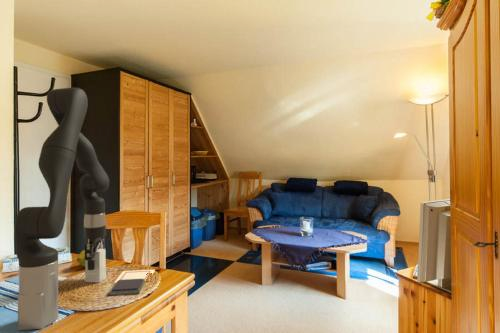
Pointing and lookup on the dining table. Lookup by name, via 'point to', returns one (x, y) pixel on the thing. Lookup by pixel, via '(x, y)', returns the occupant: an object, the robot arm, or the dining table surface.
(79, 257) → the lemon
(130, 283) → the pad
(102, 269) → the skincare box
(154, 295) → the dining table surface
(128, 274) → the paper sheet
